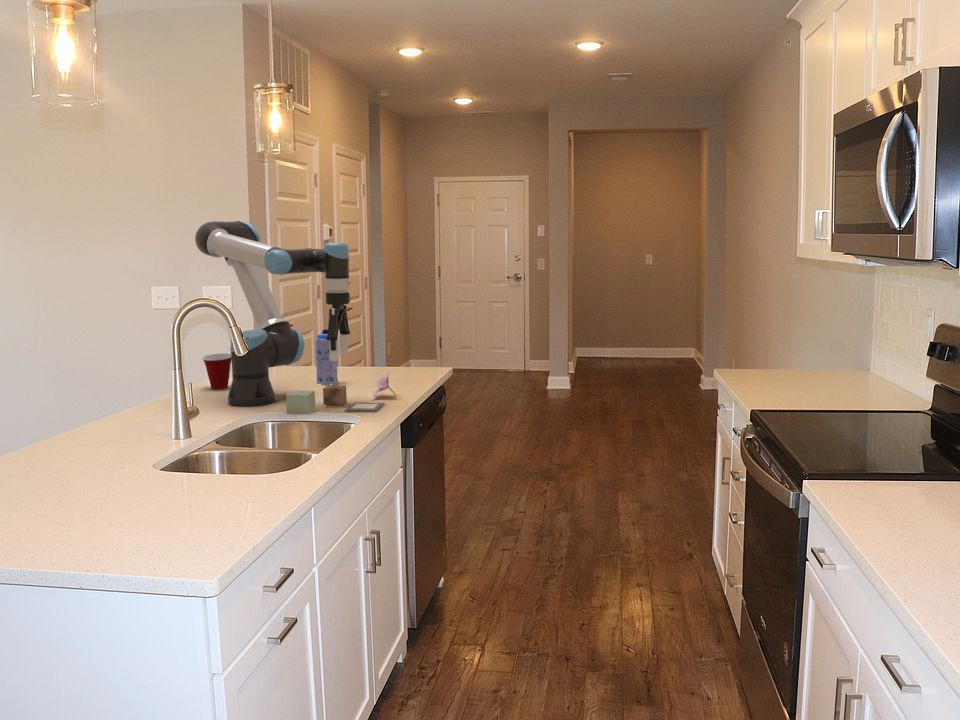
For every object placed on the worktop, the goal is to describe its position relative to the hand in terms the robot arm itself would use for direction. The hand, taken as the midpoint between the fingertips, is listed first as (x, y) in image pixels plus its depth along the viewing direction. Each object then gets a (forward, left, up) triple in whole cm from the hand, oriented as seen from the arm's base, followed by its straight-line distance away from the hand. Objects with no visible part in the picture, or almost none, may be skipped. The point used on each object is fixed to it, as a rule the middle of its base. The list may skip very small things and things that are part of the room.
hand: (339, 357), depth 286 cm
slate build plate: (+10, -7, -15) cm, 19 cm away
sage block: (-9, -12, -15) cm, 22 cm away
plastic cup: (-52, +27, -15) cm, 61 cm away
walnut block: (-1, -2, -15) cm, 15 cm away
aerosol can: (-15, +38, -15) cm, 44 cm away
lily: (+12, +12, -16) cm, 23 cm away
